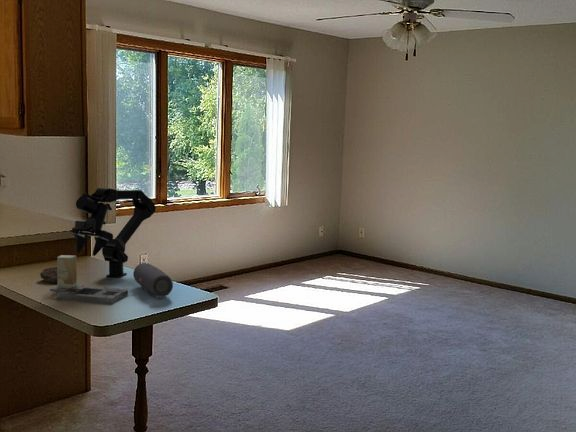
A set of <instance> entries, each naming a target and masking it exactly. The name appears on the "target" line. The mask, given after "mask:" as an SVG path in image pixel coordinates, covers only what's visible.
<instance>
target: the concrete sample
mask: <svg viewBox="0 0 576 432" xmlns="http://www.w3.org/2000/svg"><path fill="white" fill-rule="evenodd" d="M39 275H40V278H41V279H42V280H43V282H46V283H51V284H52V283H53V284H54V283H57V266H53V267H51V266H50V267H47V268H44V269H43V270H42V271H41V272H40V273H39Z"/></svg>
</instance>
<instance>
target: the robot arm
mask: <svg viewBox="0 0 576 432" xmlns="http://www.w3.org/2000/svg"><path fill="white" fill-rule="evenodd" d="M118 200H132V205H133V206H134V208H133V215H132V216H131V217H130V219H129V220H128V221H127V223H126V224H125V225H124V227H123V228H122V229H121V230H120V232H118V234H117V236H116V237H115V238H114V234H113V233H111V232H109V231H107V230H103V229H102V228H103V226H104V225H106V221H105V219H106V216H107V213H108V211H112V210H113V208H112V206H111V204H110V203H114V202H116V201H118ZM75 206H76V208H77V209H78V210H80V211H82V212H85V213H88V214H90V216H87V217H86V218H85V219H84V220H79V219H78V220H74V221H75V223H74V226H73V227H72V228H71V231H70V233H71V234H72V236H74V239H75V241H76V242H75V243H76V246H75V247H76V253H77V254H80V253H81V252H82V250H83V248H84V247H85V244H86V242H87V241H88V237H89V236H91V237H94V238H93V239H94V241H95V242H94V246H93V250H92V256H94V257H95V256H96V255H97V254H99V252H100V251H101V253H102V257H103V258H104V261H105V262H108V274H106V275H105V276H106V277H109V278H122V277H124V276H126V275H127V274H128V273H127V272H124V263H126V262H128V260H129V256H128V254H127V253H125V252H126V244H127V243H128V242H129V241H130V239H131V238H132V236H133V235H134V234H135V232H137V230H138V228H139V227H140V226H141V224H142V223H143V222H144V221H146V220H147V219H149V218H151V217H152V216H153V215H154V214H155V213H156V204H155V203H154V202H153V200H152V199H151V198H150V197H148V195H146V194H145V193H144V191H143V190H142V189H119V190H118V189H114V188H109V187H97V188H96V189H95V191H94V192H93V193H92V194H89V193H87V192H86V193H85V192H83V193H82V195H81V196H79V197H78V198H77V199H76V202H75Z"/></svg>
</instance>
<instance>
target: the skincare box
mask: <svg viewBox="0 0 576 432" xmlns="http://www.w3.org/2000/svg"><path fill="white" fill-rule="evenodd" d="M77 257H78V255H71V254H67V255H66V254H64V255H63V254H61V255H58V256H57V257H56V258H57V259H56V261H57V262H56V263H57V264H56V265H57V266H56V267H57V282H56V283H57V286H58V288H71V287H74V286H77V284H78V283H77V282H78V277H77V276H78V275H77V274H78V273H77V272H78V270H77V269H78V268H77V267H78V266H77V265H78V264H77V261H78V260H77V259H78V258H77Z"/></svg>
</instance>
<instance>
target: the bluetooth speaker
mask: <svg viewBox="0 0 576 432" xmlns="http://www.w3.org/2000/svg"><path fill="white" fill-rule="evenodd" d="M132 274H133V275H132V276H133V279H134V280H135V281H136V283H137V284H139V286H140V287H142V288H143V289H144V291H146V292H147V294H149V295H150V296H151V297H158V298H163V297H167V296H168V295H170V294H171V292H172V290H173V287H174V282H173V280H172V279H171V277H170V276H169V275H167V273H166V272H164V271H163V270H162V269H159V268H158V267H157V266H155V265H153V264H151V263H146V262H141V263H139V264H137V265H136V267H134V270H133V273H132Z"/></svg>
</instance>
